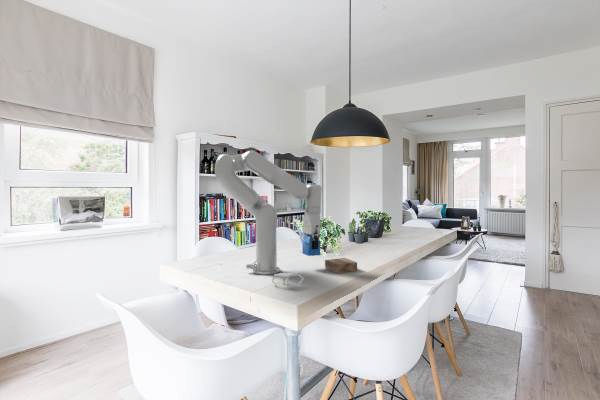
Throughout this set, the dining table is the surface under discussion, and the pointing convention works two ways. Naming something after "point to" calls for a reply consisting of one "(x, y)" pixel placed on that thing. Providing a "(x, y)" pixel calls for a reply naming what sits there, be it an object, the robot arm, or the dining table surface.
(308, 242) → the perfume bottle
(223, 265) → the dining table surface
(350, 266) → the walnut block
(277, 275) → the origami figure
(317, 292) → the dining table surface
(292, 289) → the dining table surface
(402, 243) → the dining table surface
